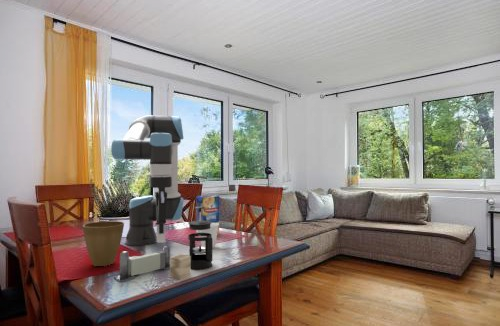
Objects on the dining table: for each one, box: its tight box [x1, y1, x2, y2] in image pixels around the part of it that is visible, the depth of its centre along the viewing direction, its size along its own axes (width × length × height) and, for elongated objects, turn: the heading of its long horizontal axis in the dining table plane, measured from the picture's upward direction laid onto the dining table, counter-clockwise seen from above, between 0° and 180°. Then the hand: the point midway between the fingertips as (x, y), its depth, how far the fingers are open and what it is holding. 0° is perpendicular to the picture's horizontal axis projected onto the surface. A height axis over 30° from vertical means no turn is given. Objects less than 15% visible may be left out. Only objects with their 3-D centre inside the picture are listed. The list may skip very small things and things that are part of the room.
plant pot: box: [82, 220, 125, 267], centre depth 124 cm, size 15×15×16 cm
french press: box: [188, 207, 213, 271], centre depth 121 cm, size 12×9×23 cm
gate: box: [129, 250, 165, 276], centre depth 113 cm, size 13×3×6 cm, turn 136°
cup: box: [201, 223, 220, 249], centre depth 149 cm, size 10×10×11 cm
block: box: [169, 253, 192, 281], centre depth 110 cm, size 5×5×7 cm
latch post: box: [162, 245, 171, 271], centre depth 119 cm, size 4×4×8 cm
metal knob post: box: [113, 250, 138, 283], centre depth 109 cm, size 8×6×9 cm
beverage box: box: [195, 194, 220, 236], centre depth 176 cm, size 7×11×22 cm, turn 133°
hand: (160, 241), depth 112 cm, fingers closed
